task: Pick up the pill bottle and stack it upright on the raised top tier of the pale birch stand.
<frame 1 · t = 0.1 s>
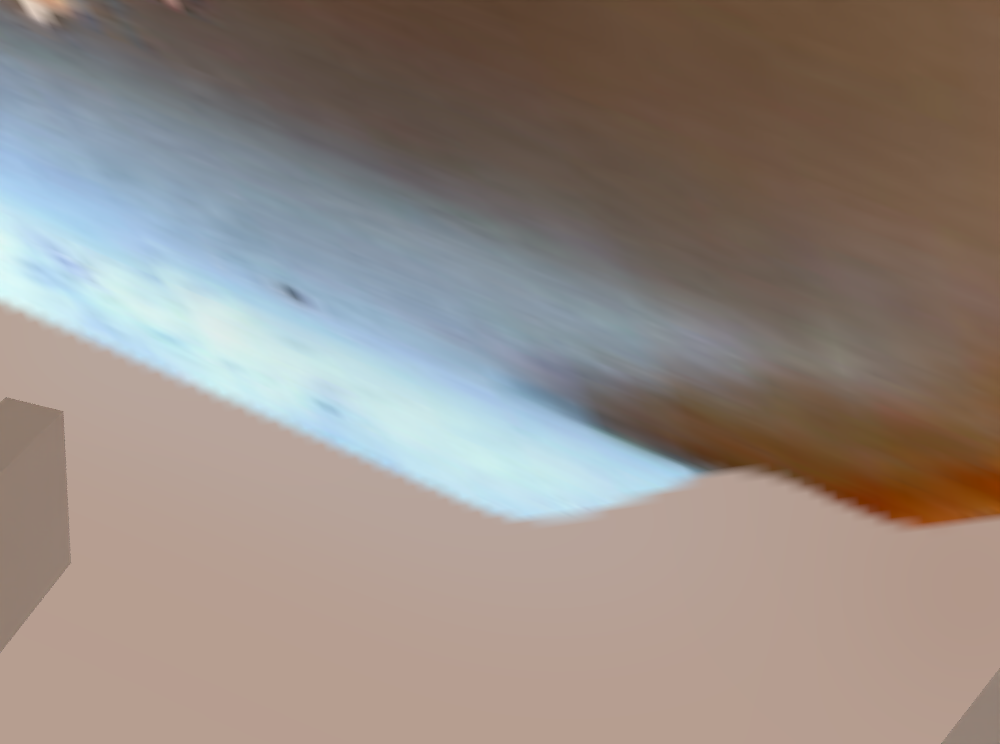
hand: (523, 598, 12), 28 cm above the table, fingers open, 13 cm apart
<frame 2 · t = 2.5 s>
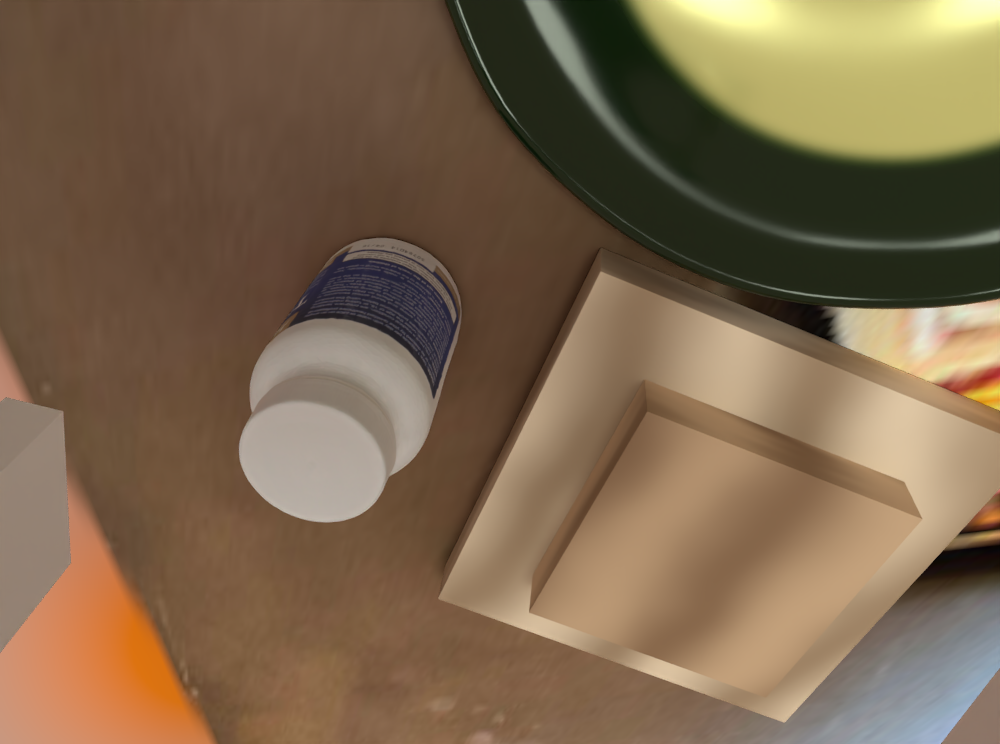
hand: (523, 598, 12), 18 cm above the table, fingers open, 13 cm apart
base: (701, 497, 33), on the table
pill bottle: (391, 301, 31), on the table
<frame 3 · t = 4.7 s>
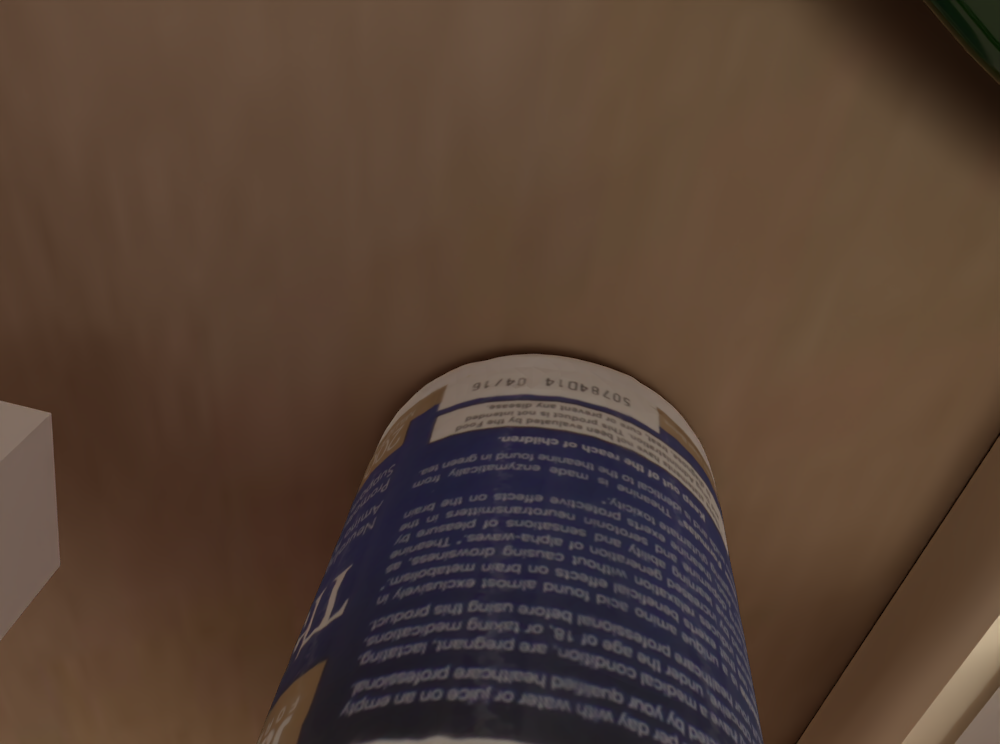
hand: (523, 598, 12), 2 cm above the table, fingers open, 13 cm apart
pill bottle: (541, 482, 14), on the table
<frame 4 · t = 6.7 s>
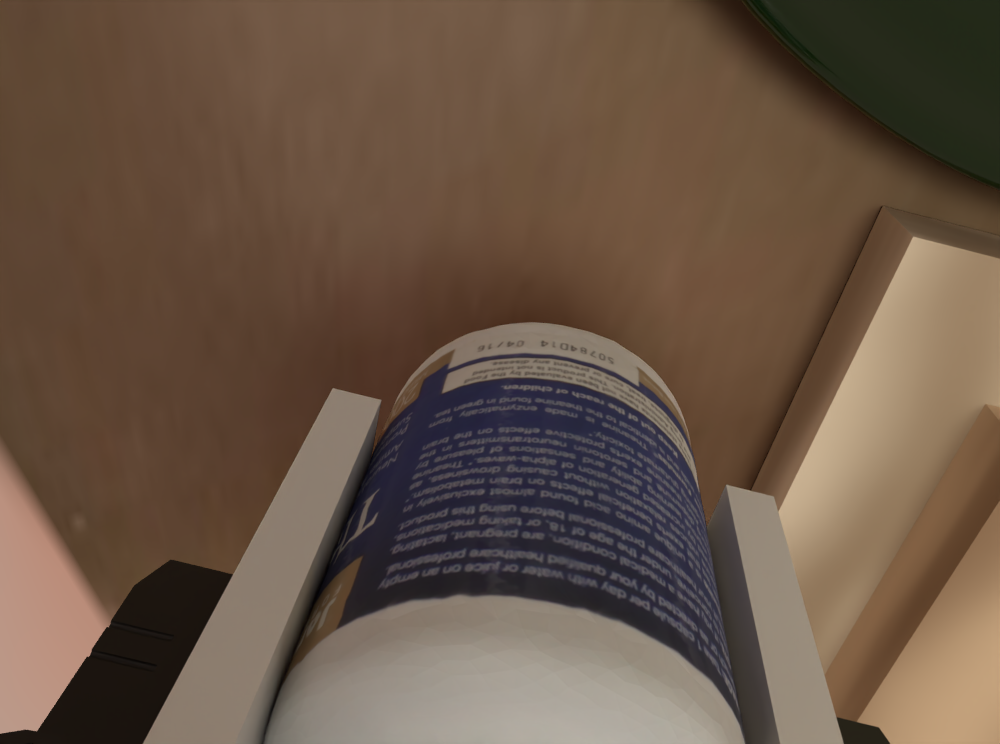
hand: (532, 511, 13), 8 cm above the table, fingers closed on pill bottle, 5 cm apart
pill bottle: (537, 441, 15), point 5 cm above the table, touching gripper
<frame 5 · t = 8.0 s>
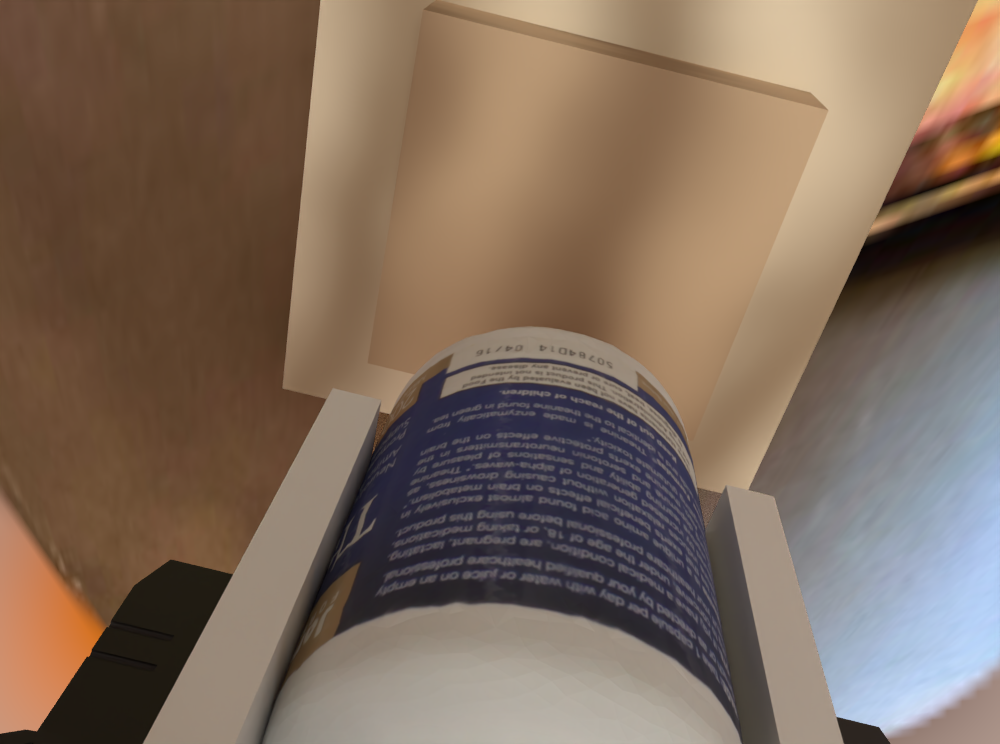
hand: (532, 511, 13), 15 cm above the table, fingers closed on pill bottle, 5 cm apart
base: (576, 202, 26), on the table
pill bottle: (535, 445, 15), point 13 cm above the table, touching gripper
when the fingers open (6 cm above the table, at t = 9.7 s): pill bottle stays where it is, resting on base.
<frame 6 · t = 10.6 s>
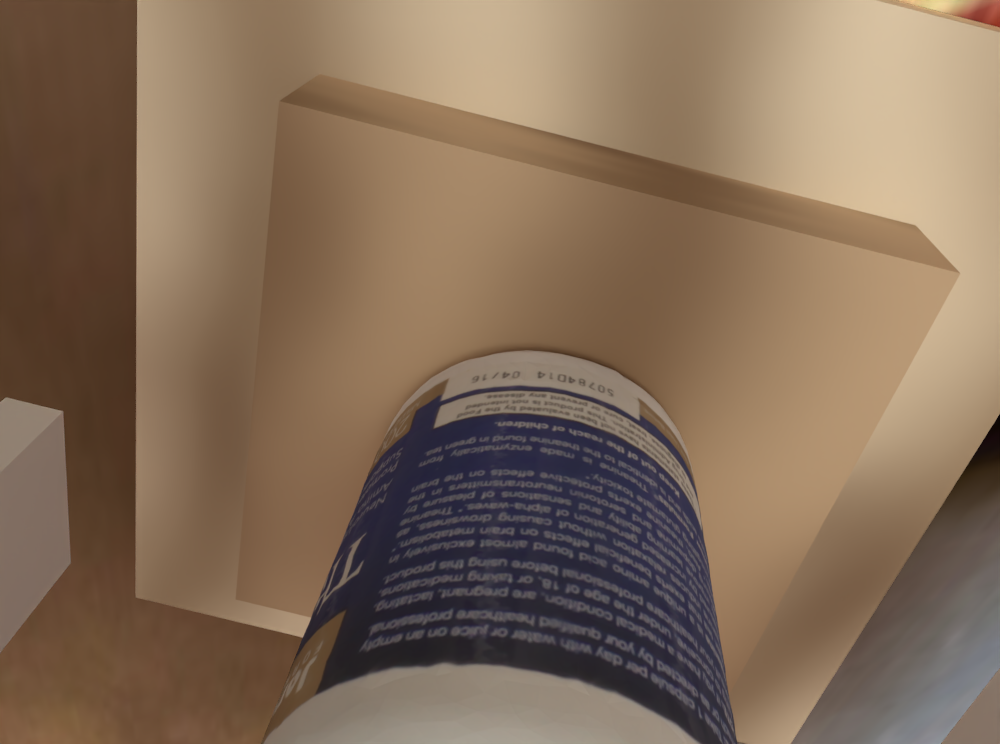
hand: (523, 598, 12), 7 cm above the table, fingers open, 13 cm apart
base: (550, 352, 18), on the table
pill bottle: (534, 469, 15), point 4 cm above the table, touching base
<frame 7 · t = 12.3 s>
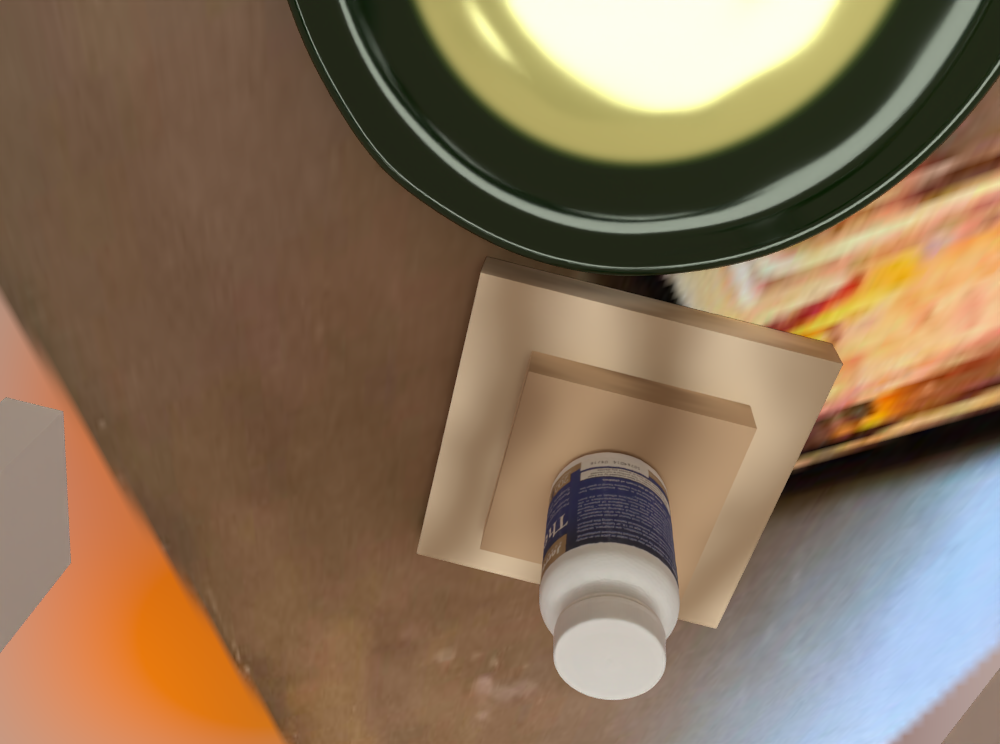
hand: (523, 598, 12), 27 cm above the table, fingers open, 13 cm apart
base: (609, 444, 42), on the table
pill bottle: (608, 495, 39), point 4 cm above the table, touching base
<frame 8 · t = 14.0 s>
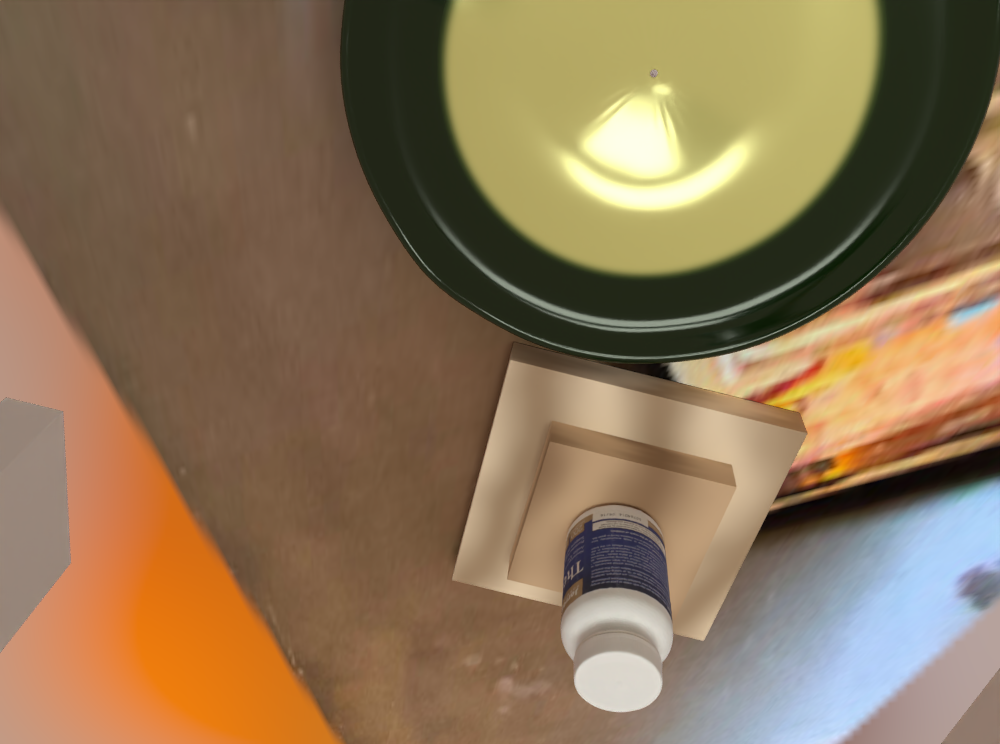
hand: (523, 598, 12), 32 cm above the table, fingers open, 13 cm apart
base: (614, 490, 50), on the table
pill bottle: (614, 537, 47), point 4 cm above the table, touching base
plate: (652, 72, 39), on the table
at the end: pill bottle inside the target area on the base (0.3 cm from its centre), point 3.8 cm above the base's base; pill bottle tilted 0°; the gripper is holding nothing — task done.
